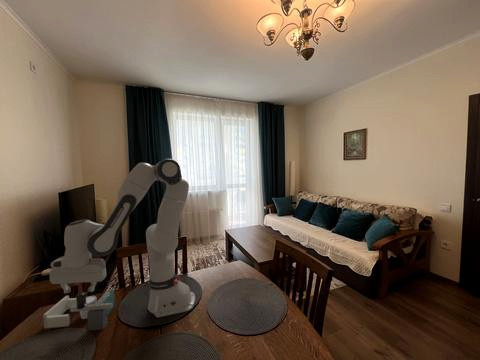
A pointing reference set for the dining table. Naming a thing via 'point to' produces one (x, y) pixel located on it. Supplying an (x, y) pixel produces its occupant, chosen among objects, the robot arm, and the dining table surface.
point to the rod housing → (97, 319)
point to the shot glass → (88, 301)
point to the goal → (59, 313)
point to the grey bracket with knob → (102, 303)
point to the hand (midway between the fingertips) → (79, 291)
